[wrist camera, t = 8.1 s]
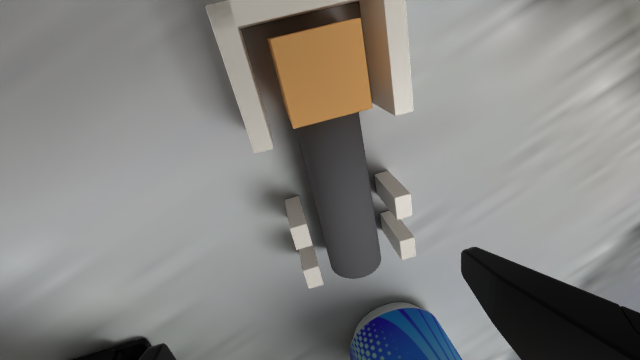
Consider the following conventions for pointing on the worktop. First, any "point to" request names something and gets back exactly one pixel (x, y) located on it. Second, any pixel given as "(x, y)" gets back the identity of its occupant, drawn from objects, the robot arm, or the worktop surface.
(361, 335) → the beer can
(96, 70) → the worktop surface
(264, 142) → the cream arch-shaped block
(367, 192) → the stamp-like rod
